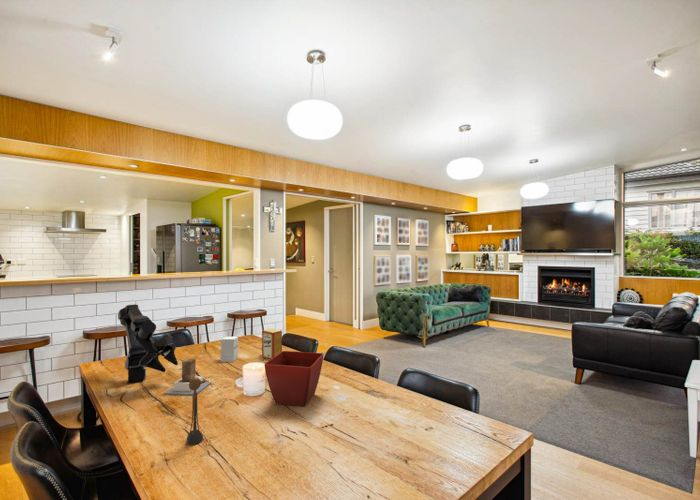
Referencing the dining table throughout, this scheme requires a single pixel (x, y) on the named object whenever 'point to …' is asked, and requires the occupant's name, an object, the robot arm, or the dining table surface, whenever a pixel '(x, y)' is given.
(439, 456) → the dining table surface
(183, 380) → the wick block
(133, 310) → the robot arm
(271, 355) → the baking soda box
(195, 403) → the wooden tabletop sculpture
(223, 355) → the supplement box
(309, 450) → the dining table surface
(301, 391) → the plant pot
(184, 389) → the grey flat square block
